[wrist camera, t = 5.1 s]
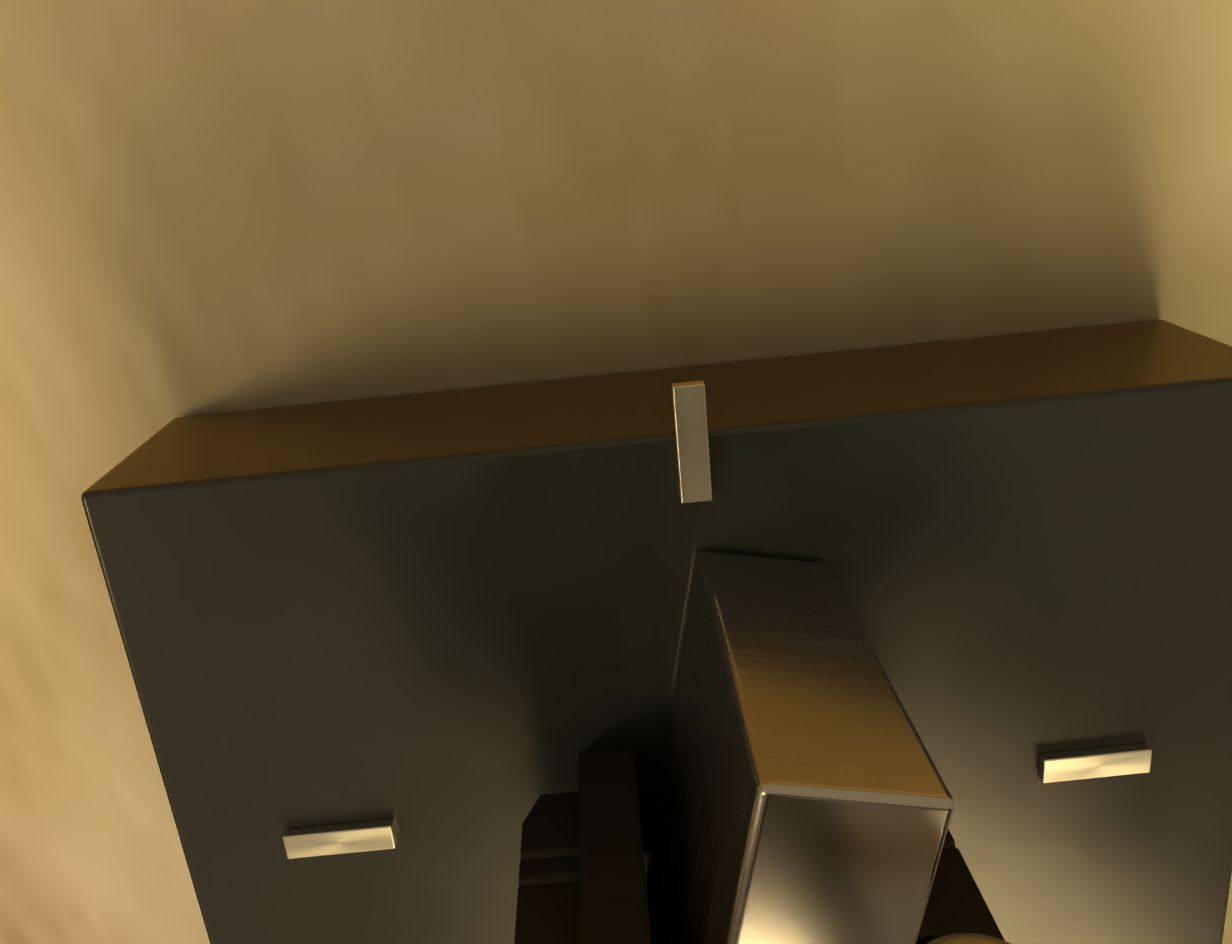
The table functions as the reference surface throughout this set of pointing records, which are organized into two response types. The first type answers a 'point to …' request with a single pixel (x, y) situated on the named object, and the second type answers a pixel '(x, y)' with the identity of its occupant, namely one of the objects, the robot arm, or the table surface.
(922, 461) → the panel
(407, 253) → the table surface
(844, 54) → the table surface
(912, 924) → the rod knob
